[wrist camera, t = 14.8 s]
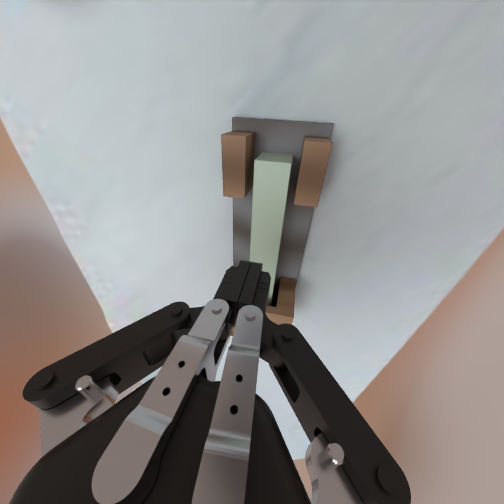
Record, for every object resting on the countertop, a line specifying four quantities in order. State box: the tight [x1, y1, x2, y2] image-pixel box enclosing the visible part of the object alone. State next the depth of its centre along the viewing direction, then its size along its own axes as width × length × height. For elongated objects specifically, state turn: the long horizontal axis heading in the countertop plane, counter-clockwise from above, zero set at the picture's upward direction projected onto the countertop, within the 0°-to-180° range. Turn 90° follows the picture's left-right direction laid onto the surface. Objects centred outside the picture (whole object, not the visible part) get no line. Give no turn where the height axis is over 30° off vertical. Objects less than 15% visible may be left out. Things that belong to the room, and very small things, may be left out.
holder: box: [221, 117, 333, 336], centre depth 23 cm, size 24×9×8 cm, turn 178°
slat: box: [250, 152, 293, 306], centre depth 24 cm, size 20×3×4 cm, turn 178°
